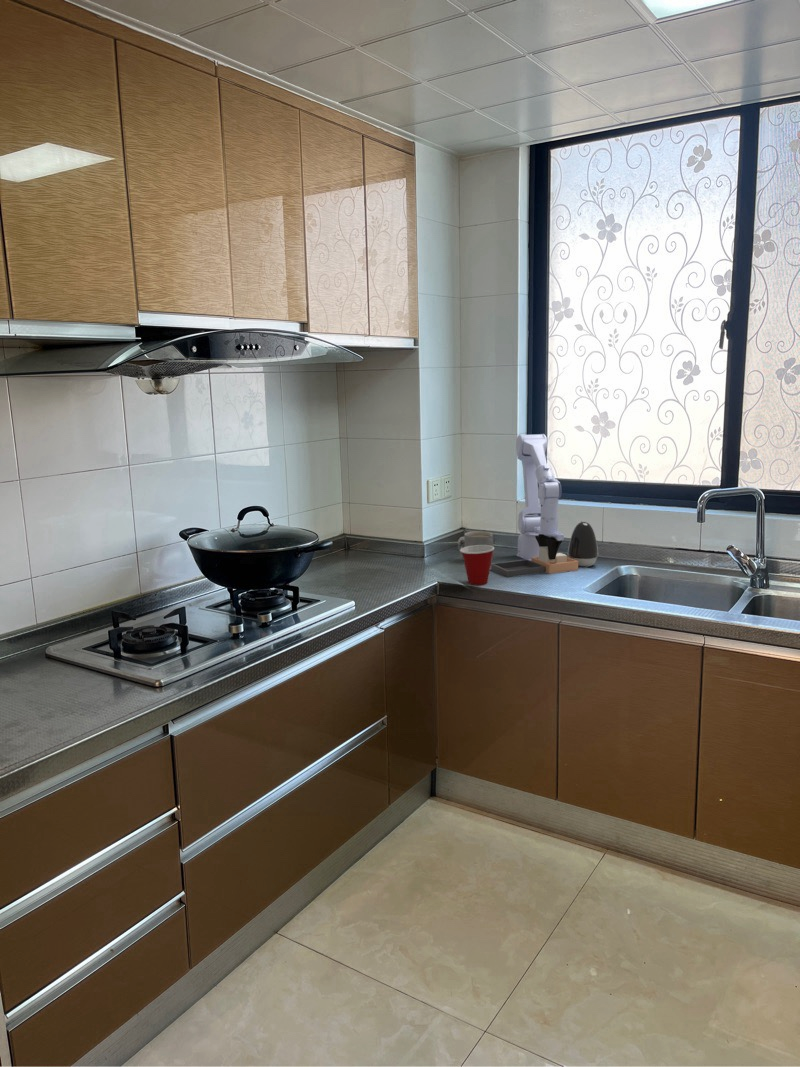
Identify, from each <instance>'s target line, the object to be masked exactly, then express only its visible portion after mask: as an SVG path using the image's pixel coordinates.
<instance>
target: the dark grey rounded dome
mask: <svg viewBox="0 0 800 1067" xmlns="http://www.w3.org/2000/svg"><path fill="white" fill-rule="evenodd" d="M595 533H596V532H595V531H594V529H593V527H592V525H591V524H590V523H588V522H587V521H580V522H579V523H577V524H576V526H575V527H574V529H573V531H572V533H571V536H570V540H569V542H568V548H567V557H568V558H571V559H574V560H577V561H578V567H585V568H588V567H592V566H593V565H594V564H595V563H596V562H597V559H598V557H599V547H598V541H597V537H596V534H595Z"/></svg>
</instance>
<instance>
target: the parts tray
mask: <svg viewBox="0 0 800 1067" xmlns="http://www.w3.org/2000/svg"><path fill="white" fill-rule="evenodd" d="M490 570H491V571H493V572H495V573H497V574H499V575H502V576H504V577H507V578H512V577H520V576H527V575H528V576H529V575H537V574H542V573H543V574H545V573H546V572H545V566H543V565H540V564H538V563H535V562H533V561H531V560H528V559H520V560H519V559H518V560H511V561H504V562H494V563H491V565H490Z"/></svg>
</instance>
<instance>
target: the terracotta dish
mask: <svg viewBox="0 0 800 1067" xmlns="http://www.w3.org/2000/svg"><path fill="white" fill-rule="evenodd" d="M538 559H539V557H532V558H531V560H530V561H533V562H535V563H538V564H540V565H543V566H545V573H547V574H551V575H552V574H558V573H566V572H567V573H568V572H573V571H579V566H578V561H577V560H574V559H571V558H569V556H567V562H563V563H556V564H550V562H543V561H540V560H538Z"/></svg>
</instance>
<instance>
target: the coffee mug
mask: <svg viewBox="0 0 800 1067" xmlns="http://www.w3.org/2000/svg"><path fill="white" fill-rule="evenodd" d="M493 536H494V534H493V532H491V531H482V530H481V531H480V530H475V531H467V532H465V533H464V535H463V536H461V537H459V539H458V540H457V549H458V550H459V552H460V553H461V554H462V552H461V551H460V549H462V548H464V547H468V546H474V545H490V546H494V543H493V542H494V539H493V538H494V537H493ZM463 544H464V545H463ZM463 546H464V547H463ZM493 554H494V553H493ZM493 554H492V559H491V563H492V562H493V560H494V559H493V558H494V555H493Z"/></svg>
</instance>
